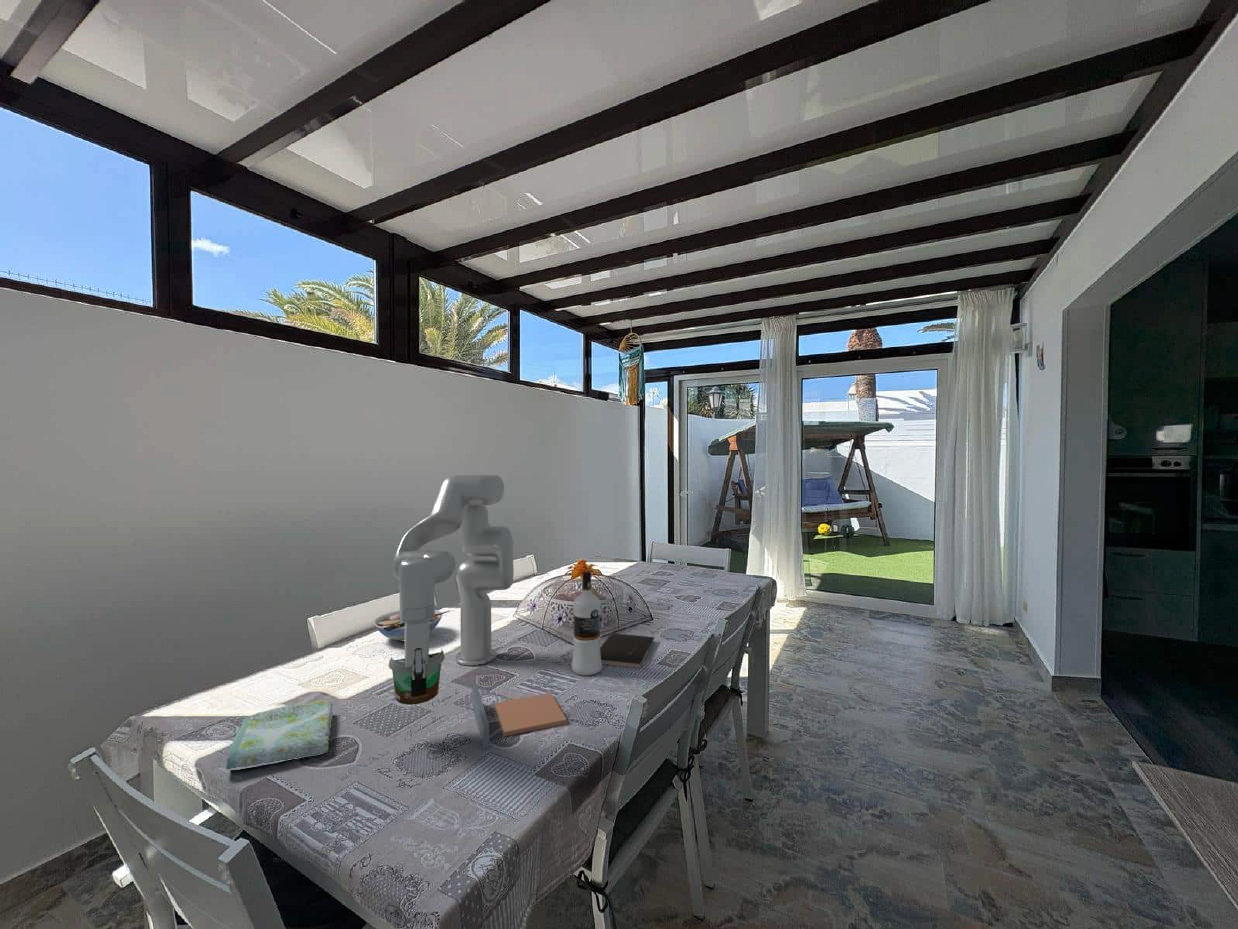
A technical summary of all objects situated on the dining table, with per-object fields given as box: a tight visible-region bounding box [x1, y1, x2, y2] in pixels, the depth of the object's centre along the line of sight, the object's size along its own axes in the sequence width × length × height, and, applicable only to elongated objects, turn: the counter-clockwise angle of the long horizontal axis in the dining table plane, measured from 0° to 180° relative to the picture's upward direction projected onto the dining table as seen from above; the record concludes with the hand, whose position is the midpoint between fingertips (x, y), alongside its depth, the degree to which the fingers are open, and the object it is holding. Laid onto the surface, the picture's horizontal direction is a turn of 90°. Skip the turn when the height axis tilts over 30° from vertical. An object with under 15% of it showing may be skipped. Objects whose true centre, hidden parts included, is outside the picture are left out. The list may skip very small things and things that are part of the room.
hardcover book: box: [600, 632, 655, 668], centre depth 168 cm, size 16×23×2 cm
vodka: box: [571, 570, 603, 676], centre depth 154 cm, size 9×9×30 cm
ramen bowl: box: [373, 609, 451, 641], centre depth 181 cm, size 25×23×8 cm
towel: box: [225, 699, 333, 769], centre depth 115 cm, size 18×21×5 cm
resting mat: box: [493, 692, 568, 737], centre depth 127 cm, size 15×15×1 cm
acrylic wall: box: [471, 684, 490, 750], centre depth 123 cm, size 22×1×5 cm, turn 22°
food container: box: [387, 649, 445, 706], centre depth 117 cm, size 12×6×10 cm, turn 117°
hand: (418, 688), depth 118 cm, fingers closed on food container, 5 cm apart
